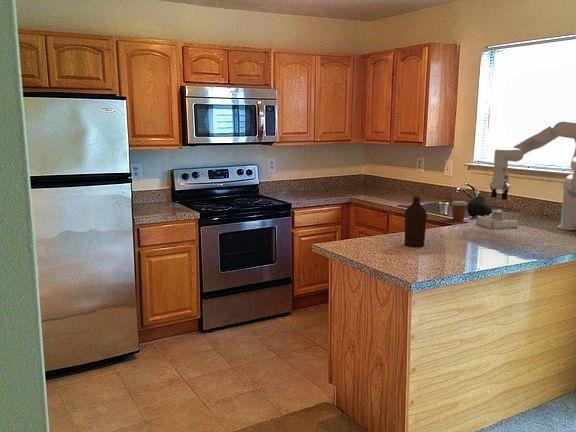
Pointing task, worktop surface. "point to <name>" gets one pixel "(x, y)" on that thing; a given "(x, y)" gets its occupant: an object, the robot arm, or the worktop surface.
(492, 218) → the pusher plate
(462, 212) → the disposable coffee cup
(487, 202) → the squash
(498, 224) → the white open tray
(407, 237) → the olive oil
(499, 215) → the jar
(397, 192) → the worktop surface
